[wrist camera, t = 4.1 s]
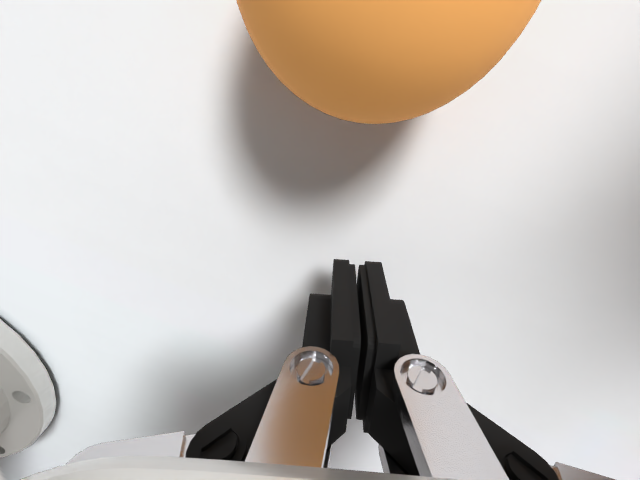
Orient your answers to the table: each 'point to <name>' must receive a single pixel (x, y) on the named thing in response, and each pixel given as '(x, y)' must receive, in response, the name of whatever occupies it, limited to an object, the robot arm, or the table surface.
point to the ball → (382, 50)
